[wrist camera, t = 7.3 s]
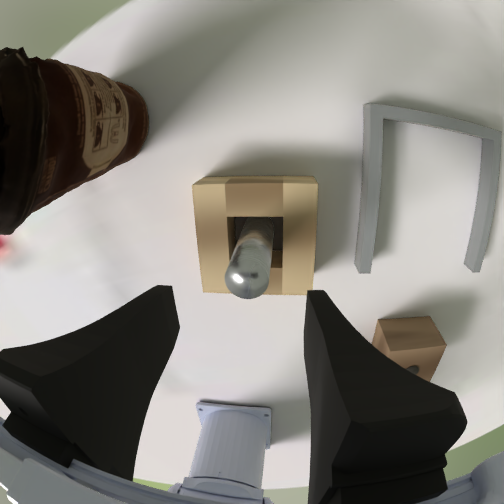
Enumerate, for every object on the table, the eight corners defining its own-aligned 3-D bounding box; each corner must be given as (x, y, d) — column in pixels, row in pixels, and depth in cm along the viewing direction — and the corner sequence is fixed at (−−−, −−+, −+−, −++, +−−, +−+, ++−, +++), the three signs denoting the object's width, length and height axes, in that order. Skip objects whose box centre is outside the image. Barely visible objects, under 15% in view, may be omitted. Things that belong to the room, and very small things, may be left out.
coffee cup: (138, 43, 15) (-9, -5, 3) (189, 139, 17) (39, 174, 6) (56, 114, 17) (-82, 140, 5) (97, 200, 20) (-36, 281, 8)
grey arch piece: (470, 263, 19) (479, 272, 17) (354, 263, 20) (358, 273, 18) (489, 130, 14) (501, 131, 13) (363, 104, 15) (370, 103, 14)
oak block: (309, 275, 20) (312, 295, 18) (211, 273, 21) (203, 292, 19) (313, 176, 18) (318, 184, 15) (203, 177, 18) (191, 185, 16)
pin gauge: (275, 241, 20) (270, 298, 13) (245, 242, 20) (227, 299, 14) (273, 212, 19) (267, 258, 13) (242, 214, 19) (221, 260, 13)
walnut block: (414, 357, 23) (426, 388, 19) (366, 361, 24) (374, 395, 20) (429, 315, 21) (447, 345, 17) (377, 318, 22) (390, 352, 18)
